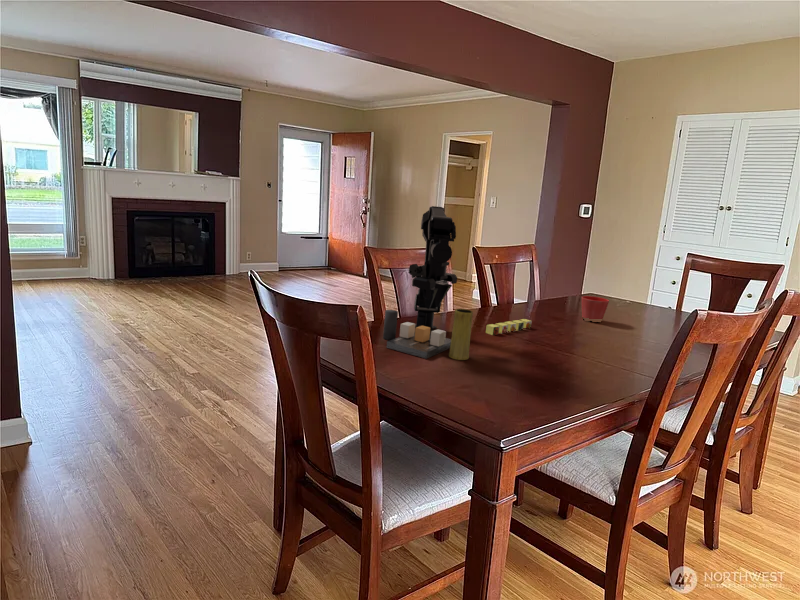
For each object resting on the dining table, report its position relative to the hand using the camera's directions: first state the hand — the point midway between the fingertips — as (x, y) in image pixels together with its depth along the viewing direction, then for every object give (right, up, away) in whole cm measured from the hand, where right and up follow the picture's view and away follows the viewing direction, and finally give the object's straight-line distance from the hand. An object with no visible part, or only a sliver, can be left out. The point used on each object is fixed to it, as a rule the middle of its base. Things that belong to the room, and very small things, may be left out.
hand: (432, 307), depth 166 cm
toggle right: (+1, -11, -5) cm, 13 cm away
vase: (+7, -15, -8) cm, 19 cm away
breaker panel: (-4, -12, -2) cm, 13 cm away
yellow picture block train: (+32, -10, +28) cm, 43 cm away
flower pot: (+71, -7, +57) cm, 91 cm away
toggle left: (-8, -9, +1) cm, 12 cm away
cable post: (-14, -10, +4) cm, 18 cm away
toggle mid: (-4, -10, -2) cm, 11 cm away
